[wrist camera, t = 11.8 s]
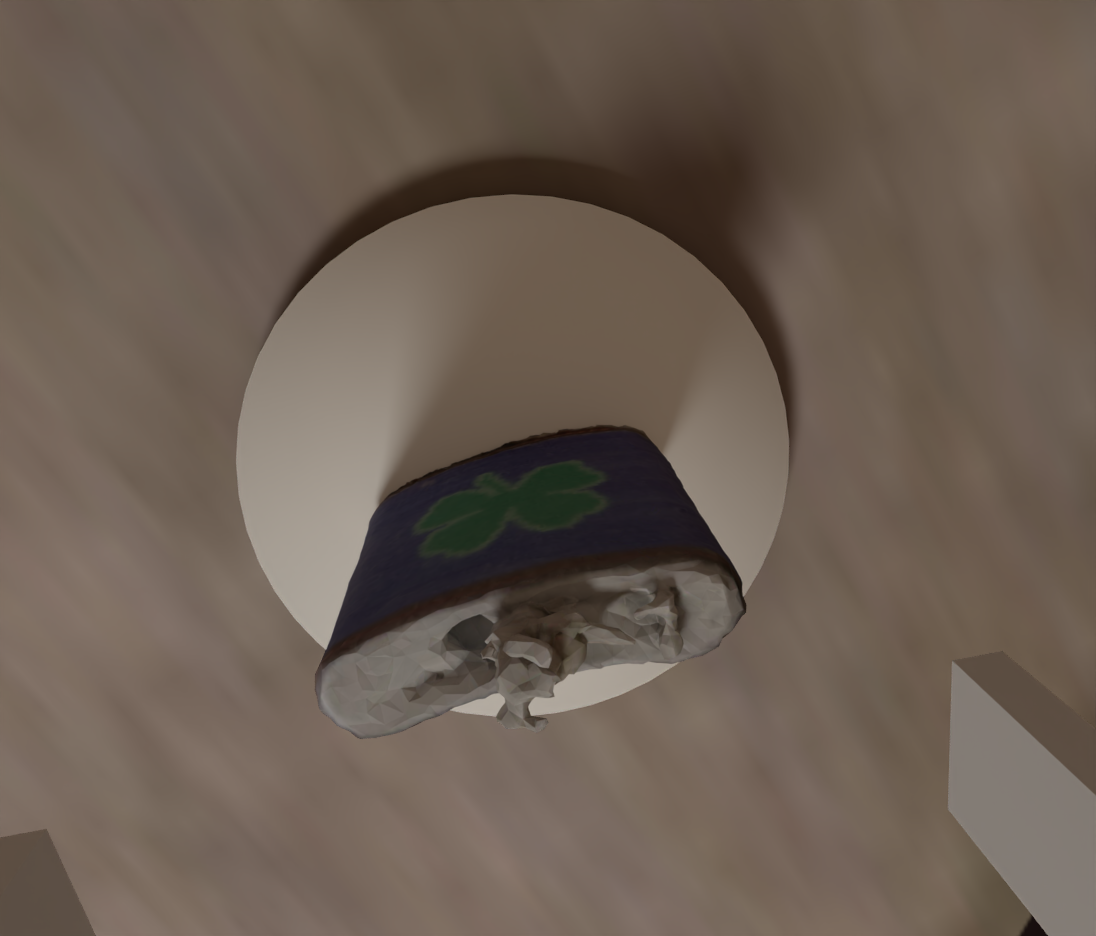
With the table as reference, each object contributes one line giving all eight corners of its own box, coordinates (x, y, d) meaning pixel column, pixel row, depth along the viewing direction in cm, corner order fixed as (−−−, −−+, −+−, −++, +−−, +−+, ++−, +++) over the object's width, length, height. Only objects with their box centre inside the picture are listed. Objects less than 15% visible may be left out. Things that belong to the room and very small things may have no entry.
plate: (322, 731, 28) (315, 753, 27) (176, 244, 22) (159, 246, 21) (786, 652, 28) (799, 671, 27) (761, 152, 22) (776, 149, 21)
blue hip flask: (386, 567, 24) (315, 822, 14) (355, 483, 24) (255, 694, 13) (668, 489, 24) (796, 693, 14) (648, 402, 23) (771, 553, 13)
